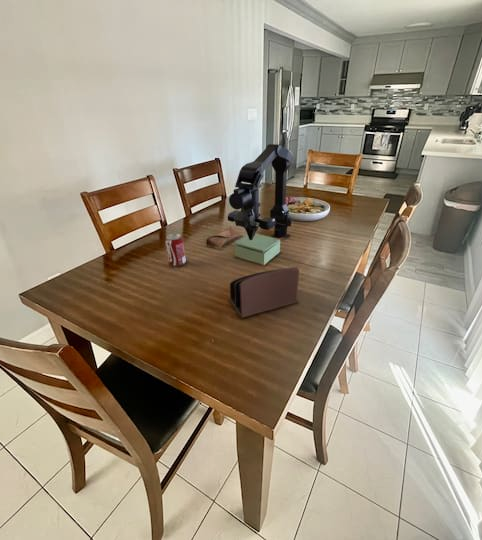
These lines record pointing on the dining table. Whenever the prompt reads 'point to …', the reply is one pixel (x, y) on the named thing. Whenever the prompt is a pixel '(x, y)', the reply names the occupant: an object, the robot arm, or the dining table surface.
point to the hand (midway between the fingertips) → (251, 239)
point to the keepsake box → (257, 253)
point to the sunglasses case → (222, 238)
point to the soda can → (175, 250)
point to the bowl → (306, 208)
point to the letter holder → (264, 291)
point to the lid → (258, 242)
